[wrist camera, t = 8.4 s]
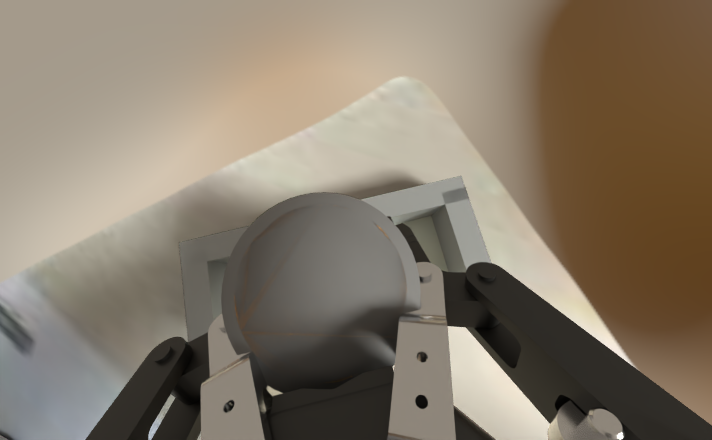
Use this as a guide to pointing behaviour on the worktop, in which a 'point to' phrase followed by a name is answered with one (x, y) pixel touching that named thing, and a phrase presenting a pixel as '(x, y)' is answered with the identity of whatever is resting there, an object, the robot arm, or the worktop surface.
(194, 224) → the worktop surface
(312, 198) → the orange cylinder
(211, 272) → the duct tray
